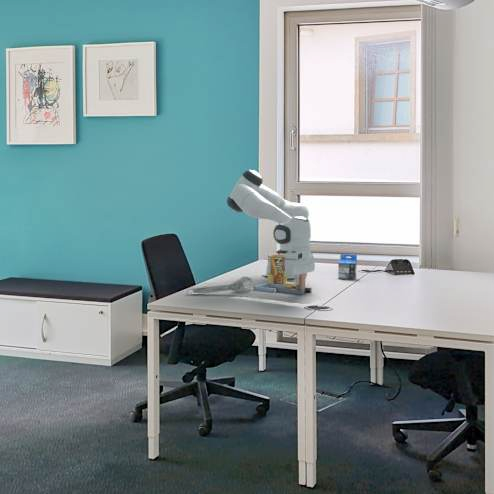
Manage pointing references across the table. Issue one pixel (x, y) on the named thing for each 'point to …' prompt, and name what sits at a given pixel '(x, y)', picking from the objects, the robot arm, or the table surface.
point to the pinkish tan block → (301, 282)
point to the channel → (293, 291)
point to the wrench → (224, 286)
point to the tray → (263, 286)
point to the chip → (290, 285)
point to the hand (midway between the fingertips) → (300, 283)
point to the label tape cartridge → (347, 266)
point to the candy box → (276, 269)
